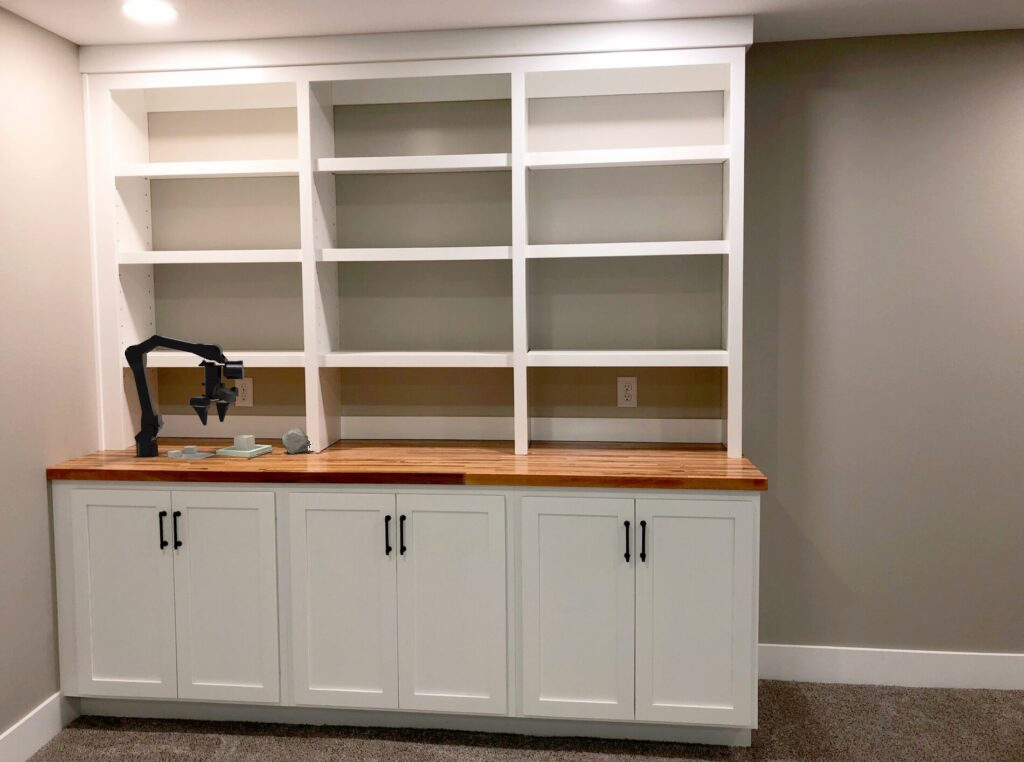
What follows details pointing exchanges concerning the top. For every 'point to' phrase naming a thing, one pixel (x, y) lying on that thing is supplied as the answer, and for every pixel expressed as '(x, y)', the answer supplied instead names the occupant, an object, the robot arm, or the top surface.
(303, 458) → the top surface
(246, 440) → the large white cube
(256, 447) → the bin
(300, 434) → the stone
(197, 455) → the slate board
